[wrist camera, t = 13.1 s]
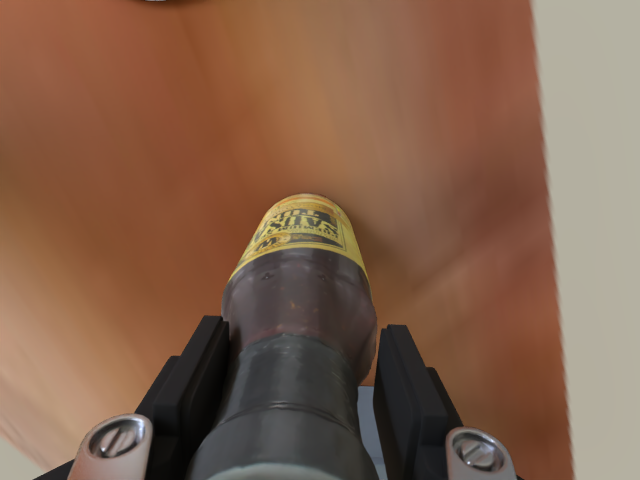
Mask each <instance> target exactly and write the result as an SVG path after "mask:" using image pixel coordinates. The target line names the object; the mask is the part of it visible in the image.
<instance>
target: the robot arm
mask: <svg viewBox="0 0 640 480" xmlns="http://www.w3.org/2000/svg"><path fill="white" fill-rule="evenodd" d="M229 345H230V338H229V321H224V320H223V317H222V316H204V317H203V318H202V320H201V322H200V324H199V325H198V327H197V329H196V330H195V332H194V334H193V335H192V337H191V339H190V341H189V342H188V344H187V346H186V347H185V349H184V351H183V352H182V354H181V356H171V357H170V358H169V359H168V361H167V362H166V364H165V365H164V367H163V368H162V370H161V372H160V373H159V375H158V376H157V378H156V379H155V381H154V383H153V384H152V386H151V387H150V389H149V390H148V392H147V394H146V395H145V397H144V398H143V400H142V402H141V403H140V405H139V406H138V408H137V409H136V411H135V413H134V414H122V415H118V416H114V417H111V418H109V419H107V420H104V421H103V422H101V423H99V424H98V425H96V426H95V427H94V428H93V429H92V430H91V431H89V432H88V433H87V434H86V436H85V438H84V439H83V441H82V443H81V445H80V448H79V450H78V453H77V455H76V458H75V459H73V460H71V461H69V462H67V463H65V464H63V465H61V466H59V467H57V468H55V469H53V470H51V471H49V472H47V473H45V474H43V475H41V476H39V477H37V478H35V479H33V480H184V479H185V475H186V471H187V468H188V465H189V463H190V460H191V459H192V457H193V455H194V453H195V452H196V451H197V450H198V448H199V447H200V445H201V443H202V442H203V440H204V439H205V438H206V436H207V435H208V434H209V433H210V431H211V428H212V426H213V423H214V420H215V417H216V412H217V410H218V408H219V405H220V402H221V399H222V389H223V384H224V381H225V377H226V375H227V365H228V353H229ZM373 411H374V416H375V421H376V426H377V431H378V435H379V440H380V445H381V450H382V454H383V459H384V464H385V469H386V474H387V478H388V480H524V479H522V478H521V477H519V476H517V475H516V473H515V470H514V466H513V463H512V459H511V457H510V455H509V453H508V450H507V449H506V448H505V447H504V446H503V444H502V443H501V442H500V441H498V440H497V439H496V438H495V437H493V436H492V435H490V434H488V433H486V432H485V431H482V430H479V429H476V428H473V427H465V426H464V425H463V423H462V421H461V419H460V417H459V415H458V413H457V411H456V409H455V407H454V405H453V403H452V401H451V399H450V397H449V395H448V393H447V391H446V389H445V387H444V385H443V383H442V381H441V379H440V377H439V375H438V373H437V371H436V370H435V369H434V368H433V367H426V366H425V364H424V362H423V360H422V358H421V356H420V354H419V351H418V349H417V347H416V345H415V343H414V341H413V339H412V336H411V334H410V332H409V330H408V328H407V326H406V325H393V324H389V325H388V326H387V329H383V328H382V330H381V335H380V343H379V351H378V359H377V368H376V376H375V384H374V392H373Z"/></svg>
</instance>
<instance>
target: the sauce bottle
mask: <svg viewBox="0 0 640 480" xmlns="http://www.w3.org/2000/svg"><path fill="white" fill-rule="evenodd" d="M221 316H222V317H223V320H224V321H229V338H230V345H229V353H228V365H227V375H226V377H225V381H224V384H223V389H222V399H221V402H220V405H219V408H218V410H217V412H216V417H215V420H214V423H213V426H212V428H211V431H210V433H209V434H208V435H207V436H206V438H205V439H204V440H203V442H202V443H201V445H200V447H199V448H198V450H197V451H196V452H195V453H194V455H193V457H192V459H191V460H190V463H189V465H188V468H187V471H186V475H185V479H184V480H379V476H378V474H377V471H376V468H375V465H374V463H373V461H372V459H371V457H370V455H369V454H368V452H367V450H366V448H365V447H364V445H363V442H362V437H361V431H360V423H359V416H358V407H357V402H358V395H359V393H358V387H359V386H360V384H361V383H362V382H363V380H364V379H365V378H366V377H367V375H368V374H369V370H370V369H371V365H372V361H373V359H374V356H375V352H376V334H377V317H376V312H375V309H374V306H373V303H372V292H371V287H370V283H369V280H368V277H367V273H366V270H365V266H364V263H363V260H362V257H361V254H360V250H359V247H358V244H357V242H356V239H355V235H354V232H353V229H352V226H351V223H350V221H349V219H348V217H347V216H346V214H345V213H344V212H343V210H342V209H341V208H340V207H339V206H337V205H336V204H335V203H334V202H332V201H331V200H329V199H327V198H326V197H325V196H323V195H319V194H312V193H309V194H308V193H307V194H300V193H298V194H296V195H293V196H288V197H286V198H285V199H283V200H281V201H279V202H278V203H276V204H275V205H274V206H273V207H271V208H270V209H269V210H268V212H267V213H266V214H265V216H264V218H263V219H262V221H261V223H260V225H259V226H258V228H257V230H256V232H255V234H254V236H253V237H252V239H251V241H250V242H249V244H248V246H247V248H246V250H245V252H244V254H243V256H242V257H241V259H240V261H239V263H238V265H237V267H236V268H235V270H234V272H233V273H232V275H231V277H230V279H229V281H228V283H227V285H226V287H225V289H224V292H223V297H222V309H221Z"/></svg>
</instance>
